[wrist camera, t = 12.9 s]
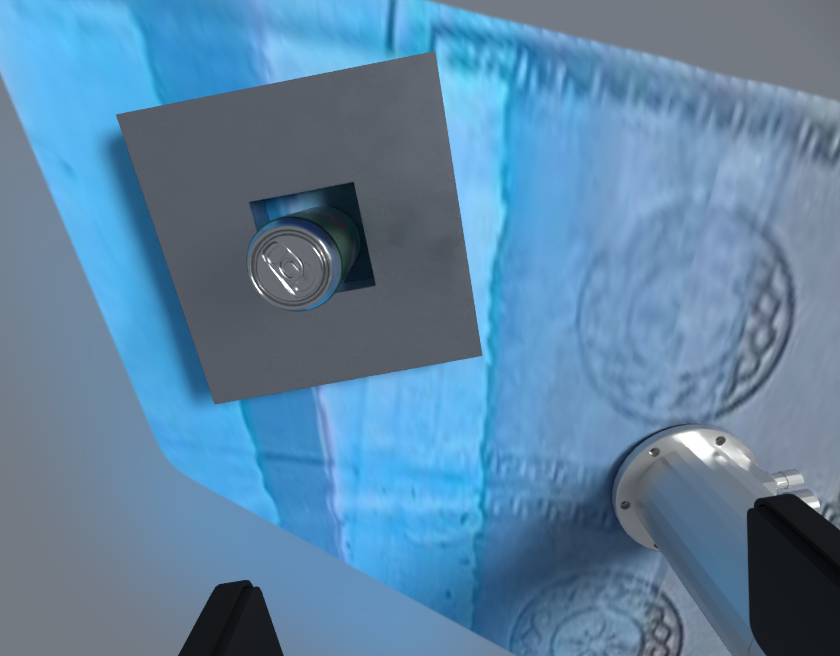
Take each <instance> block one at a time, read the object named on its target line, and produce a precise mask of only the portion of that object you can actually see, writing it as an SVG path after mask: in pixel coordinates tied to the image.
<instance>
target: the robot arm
mask: <svg viewBox="0 0 840 656" xmlns="http://www.w3.org/2000/svg"><path fill="white" fill-rule="evenodd" d="M803 484H804V478H803V476H802V475H801V473H800V472H799V471H798V470H795V469H793V470H787V471H781V472H778V473H775V474H769V473H768V472H764V471H763V470H761V469H760V468H759V466H758V463H757V461H756V458H755V456H754V455H753V453H752V452H751V451H750V449H749V448H748V447H747V446H746V445H745V444H744V443H743V442H741V441H740V440H739V439H738V438H736V437H735V436H733V435H732V434H730V433H729V432H727V431H725V430H723V429H720V428H717V427H714V426H709V425H703V424H688V425H682V426H677V427H673V428H670V429H667V430H664V431H661V432H659V433H657V434H655V435H653V436H652V437H650V438H648V439H646V440H645V441H644V442H642V443H641V444H640V445H639V446H637V447H636V448H635V449H634V450H633V451H632V452H631V453H630V454H629V455H628V456H627V458H626V459H625V461H624V462H623V464H622V465H621V467H620V468H619V470H618V473H617V475H616V478H615V480H614V485H613V490H612V504H613V508H614V512H615V515H616V517H617V518H618V520H619V522H620V524H621V525H622V527H623V528H624V530H625V531H626V533H627V534H628V535H629V536H630V537H631V538H632V539H633V540H635V541H636V542H637V543H639V544H641V545H643V546H644V547H646V548H649V549H652V550H654V551H659V552H661V553H662V554H663V556H664V557H665V559H666V560H667V562H668V563H669V565H670V566H671V568H672V569H673V571H674V572H675V573H676V575H677V576H678V578H679V579H680V581H681V582H682V584H683V585H684V587H685V588H686V589H687V591H688V592H689V594H690V595H691V597H692V598H693V600H694V601H695V603H696V604H697V605H698V607H699V608H700V610H701V611H702V613H703V614H704V616H705V617H706V619H707V620H708V621H709V623H710V624H711V626H712V627H713V629H714V630H715V632H716V633H717V635H718V636H719V637H720V639H721V640H722V642H723V643H724V645H725V646H726V648H727V649H728V651H729V652H730V654H731V655H732V656H840V530H839V529H838V528H836V527H835V526H834V525H833V524H831V523H830V522H829V521H828V520H826V519H825V518H824V517H823V516H822V515H820V514H819V513H818V511H819V509H820V505H819V501H818V499H817V497H816V496H815V495H814V494H813V492H812V491H810V490H808V489H803V490H798V491H792V492H786V493H783V494H781V495H777V489H783V488H785V489H788V488H794V487H800V486H803ZM178 656H284V655H283V653H282V650H281V647H280V644H279V641H278V638H277V635H276V632H275V629H274V626H273V623H272V620H271V617H270V615H269V612H268V609H267V606H266V603H265V600H264V597H263V594H262V591H261V590H260V588H259V587H253V586H252V584H251V582H250V581H249V580H243V581H237V582H230V583H224V584H219V585H218V586H216V587H215V589H214V590H213V592H212V594H211V596H210V597H209V599H208V601H207V603H206V605H205V607H204V608H203V610H202V612H201V614H200V616H199V618H198V620H197V622H196V623H195V625H194V627H193V629H192V631H191V633H190V635H189V637H188V638H187V640H186V642H185V644H184V646H183V648H182V649H181V651H180V653H179V655H178Z"/></svg>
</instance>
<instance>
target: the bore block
mask: <svg viewBox="0 0 840 656" xmlns="http://www.w3.org/2000/svg"><path fill="white" fill-rule="evenodd" d="M116 116H117V119H118V122H119V125H120V128H121V131H122V134H123V137H124V140H125V143H126V145H127V148H128V151H129V154H130V157H131V160H132V163H133V166H134V169H135V172H136V175H137V178H138V181H139V184H140V187H141V190H142V192H143V195H144V198H145V201H146V204H147V207H148V210H149V213H150V216H151V219H152V222H153V225H154V228H155V231H156V234H157V236H158V239H159V242H160V245H161V248H162V251H163V254H164V257H165V260H166V263H167V266H168V269H169V272H170V275H171V278H172V280H173V283H174V286H175V289H176V292H177V295H178V298H179V301H180V304H181V307H182V310H183V313H184V316H185V319H186V322H187V325H188V327H189V330H190V333H191V336H192V339H193V342H194V345H195V348H196V351H197V354H198V357H199V360H200V363H201V366H202V369H203V371H204V374H205V377H206V380H207V383H208V386H209V389H210V392H211V395H212V398H213V401H214V404H220V403H225V402H231V401H236V400H242V399H247V398H253V397H258V396H264V395H269V394H275V393H280V392H286V391H291V390H297V389H302V388H308V387H313V386H319V385H324V384H330V383H335V382H341V381H346V380H352V379H357V378H363V377H368V376H374V375H379V374H385V373H390V372H396V371H401V370H407V369H412V368H418V367H423V366H429V365H434V364H440V363H445V362H451V361H456V360H462V359H467V358H473V357H478V356H482V350H481V344H480V338H479V331H478V325H477V318H476V312H475V305H474V299H473V292H472V286H471V279H470V273H469V266H468V260H467V253H466V247H465V241H464V234H463V228H462V221H461V215H460V208H459V202H458V195H457V189H456V182H455V176H454V169H453V163H452V157H451V150H450V144H449V137H448V131H447V124H446V118H445V111H444V105H443V98H442V92H441V85H440V79H439V73H438V66H437V60H436V53H435V51H434V52H429V53H424V54H419V55H414V56H409V57H404V58H399V59H394V60H389V61H384V62H379V63H373V64H368V65H363V66H358V67H353V68H348V69H343V70H338V71H333V72H328V73H323V74H318V75H313V76H308V77H303V78H298V79H293V80H288V81H283V82H278V83H273V84H268V85H263V86H258V87H253V88H248V89H243V90H238V91H233V92H228V93H223V94H217V95H212V96H207V97H202V98H197V99H192V100H187V101H182V102H177V103H172V104H167V105H162V106H157V107H152V108H147V109H142V110H137V111H132V112H127V113H122V114H117V115H116ZM349 183H354V185H355V190H356V195H357V199H358V204H359V209H360V213H361V218H362V223H363V227H364V232H365V237H366V241H367V246H368V251H369V255H370V260H371V264H372V269H373V274H374V277H372V278H367V279H361V280H356V281H351V282H345V283H341V284H340V286H339V288H338V289H337V291H336V292H335V294H334V295H333V296H332V297H331V298H330V300H328V301H327V302H326V303H325V304H323V305H321V306H320V307H318V308H315V309H312V310H308V311H302V312H294V311H287V310H284V309H281V308H278V307H276V306H274V305H272V304H270V303H269V302H267V301H266V300H265V299H263V298H262V297H261V296H260V295H259V294H258V293H257V291H256V290H255V288H254V287H253V285H252V283H251V281H250V278H249V275H248V272H247V265H246V256H247V250H248V247H249V244H250V242H251V240H252V238H253V236H254V235H255V234H256V232H257V231H258V230H259V229H260V228H261V227H262V226H264V225H265V224H267V223H268V222H270V221H269V218H268V214H267V210H266V207H265V203H264V200H266V199H271V198H276V197H281V196H286V195H292V194H297V193H302V192H307V191H312V190H318V189H323V188H328V187H333V186H338V185H344V184H349Z"/></svg>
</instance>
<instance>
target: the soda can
mask: <svg viewBox="0 0 840 656" xmlns="http://www.w3.org/2000/svg"><path fill="white" fill-rule="evenodd" d="M359 251H360V235H359V232H358V229H357V227H356V225H355V223H354V222H353V221H352V219H351V218H350V217H349V216H348V215H347V214H345V213H344V212H342V211H341V210H338V209H336V208H333V207H327V206H319V207H314V208H311V209H308V210H304V211H301V212H297V213H294V214H290V215H287V216H284V217H280V218H277V219H274V220H272V221H270V222H268V223H267V224H265V225H264V226H262V227H261V228H260V229H259V230H258V231H257V232H256V234H255V235H254V236H253V238H252V240H251V242H250V244H249V247H248V250H247V256H246V265H247V272H248V275H249V278H250V281H251V283H252V285H253V287H254V288H255V290H256V291H257V293H258V294H259V295H260V296H261V297H262V298H263V299H265V300H266V301H267V302H269V303H270V304H272V305H274V306H276V307H278V308H281V309H284V310H287V311H294V312H302V311H308V310H312V309H315V308H318V307H320V306H321V305H323V304H325V303H326V302H327V301H328V300H330V298H331V297H332V296H333V295H334V294H335V292H336V291H337V289H338V288H339V286H340V284H341V283H342V281H343V280H344V278H345V276H346V275H347V273H348V272H349V270H350V268H351V267H352V265H353V264H354V262H355V260H356V259H357V257H358V254H359Z"/></svg>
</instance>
